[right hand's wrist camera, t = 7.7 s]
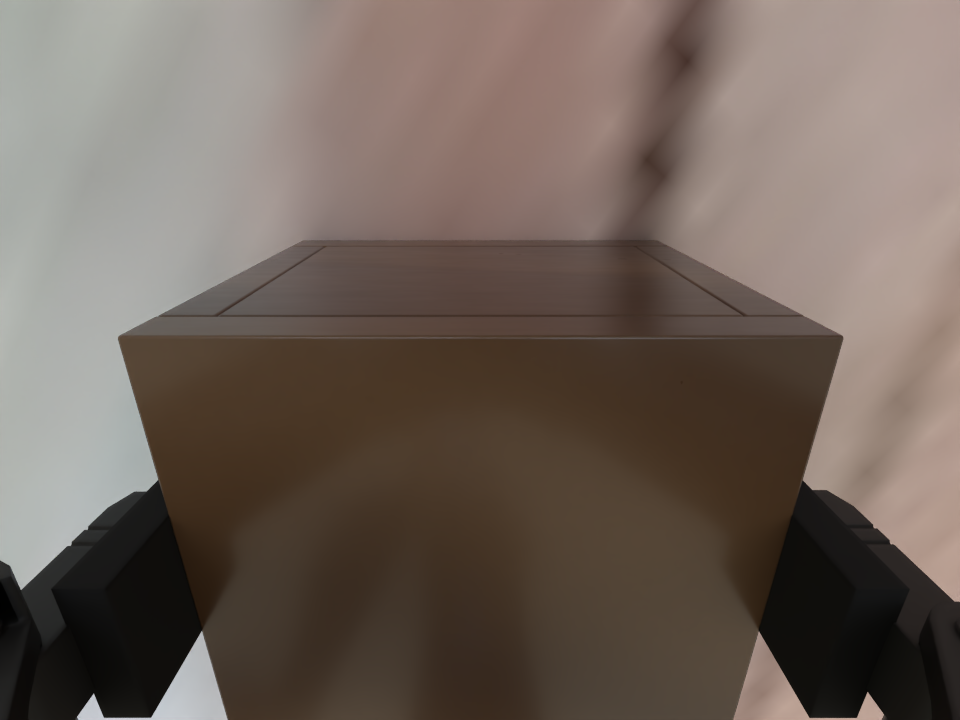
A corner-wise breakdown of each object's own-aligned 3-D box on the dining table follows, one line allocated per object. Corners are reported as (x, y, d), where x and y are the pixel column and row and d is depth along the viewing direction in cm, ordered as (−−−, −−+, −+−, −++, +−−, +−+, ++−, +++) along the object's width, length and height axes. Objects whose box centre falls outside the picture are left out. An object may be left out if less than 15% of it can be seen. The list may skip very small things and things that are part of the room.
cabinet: (606, 631, 21) (679, 907, 14) (353, 631, 21) (281, 908, 13) (658, 240, 15) (846, 335, 7) (301, 240, 15) (114, 336, 7)
